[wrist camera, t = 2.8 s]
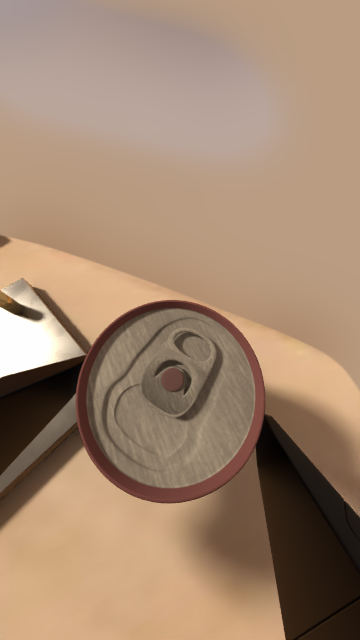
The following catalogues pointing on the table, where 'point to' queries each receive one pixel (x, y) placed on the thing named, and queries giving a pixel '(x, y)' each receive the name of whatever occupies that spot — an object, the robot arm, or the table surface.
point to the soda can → (170, 401)
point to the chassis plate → (31, 352)
